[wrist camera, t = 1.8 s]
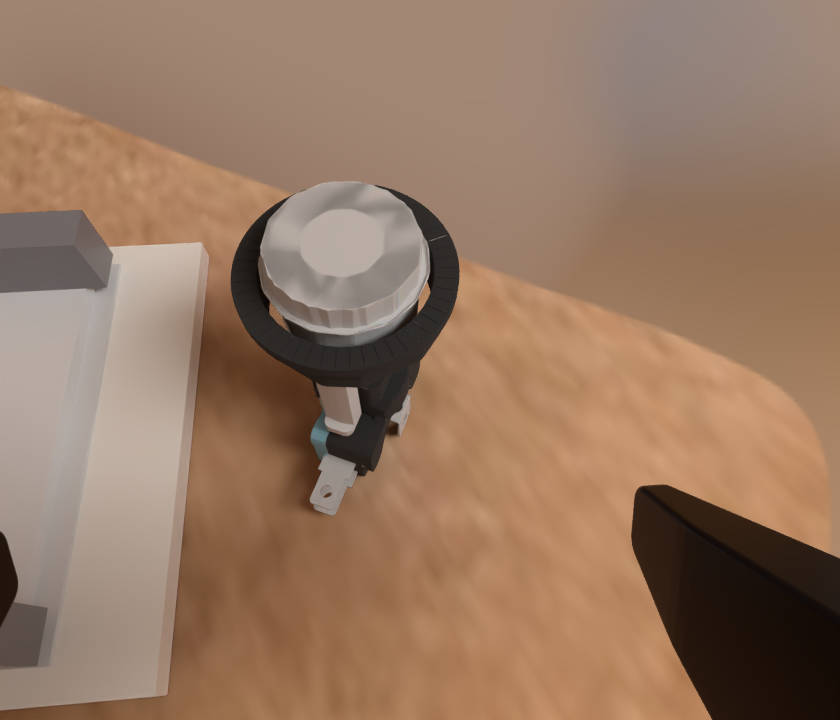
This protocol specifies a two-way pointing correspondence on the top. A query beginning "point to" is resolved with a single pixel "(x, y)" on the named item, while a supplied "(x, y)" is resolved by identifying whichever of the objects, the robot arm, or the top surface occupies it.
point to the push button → (347, 311)
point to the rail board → (93, 455)
